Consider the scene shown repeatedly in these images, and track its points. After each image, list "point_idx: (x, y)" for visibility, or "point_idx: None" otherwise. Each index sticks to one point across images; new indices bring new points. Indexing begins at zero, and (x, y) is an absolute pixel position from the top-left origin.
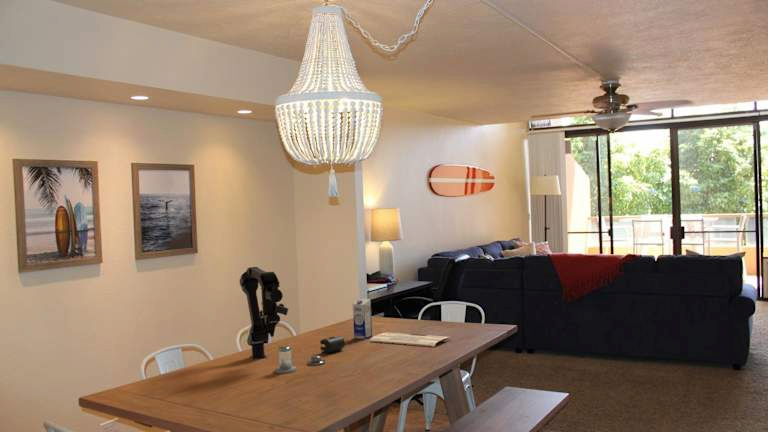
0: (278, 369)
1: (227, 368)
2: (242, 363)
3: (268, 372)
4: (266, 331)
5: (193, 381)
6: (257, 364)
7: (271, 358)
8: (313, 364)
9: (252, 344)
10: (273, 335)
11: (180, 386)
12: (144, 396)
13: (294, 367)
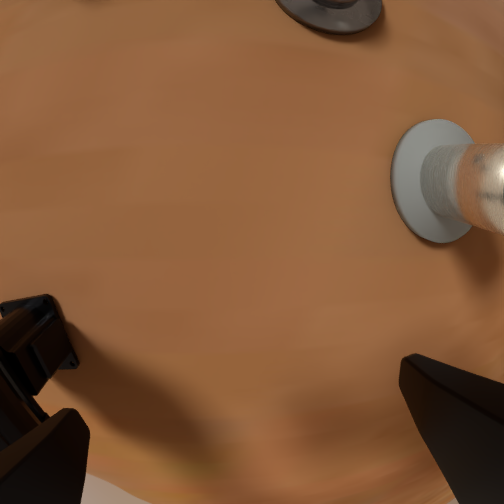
0: (451, 224)
1: (250, 453)
2: (162, 410)
3: (430, 275)
4: (85, 458)
5: (384, 483)
6: (211, 346)
7: (70, 263)
8: (378, 14)
9: (40, 414)
10: (426, 359)
11: (411, 485)
12: (433, 498)
13: (444, 129)
